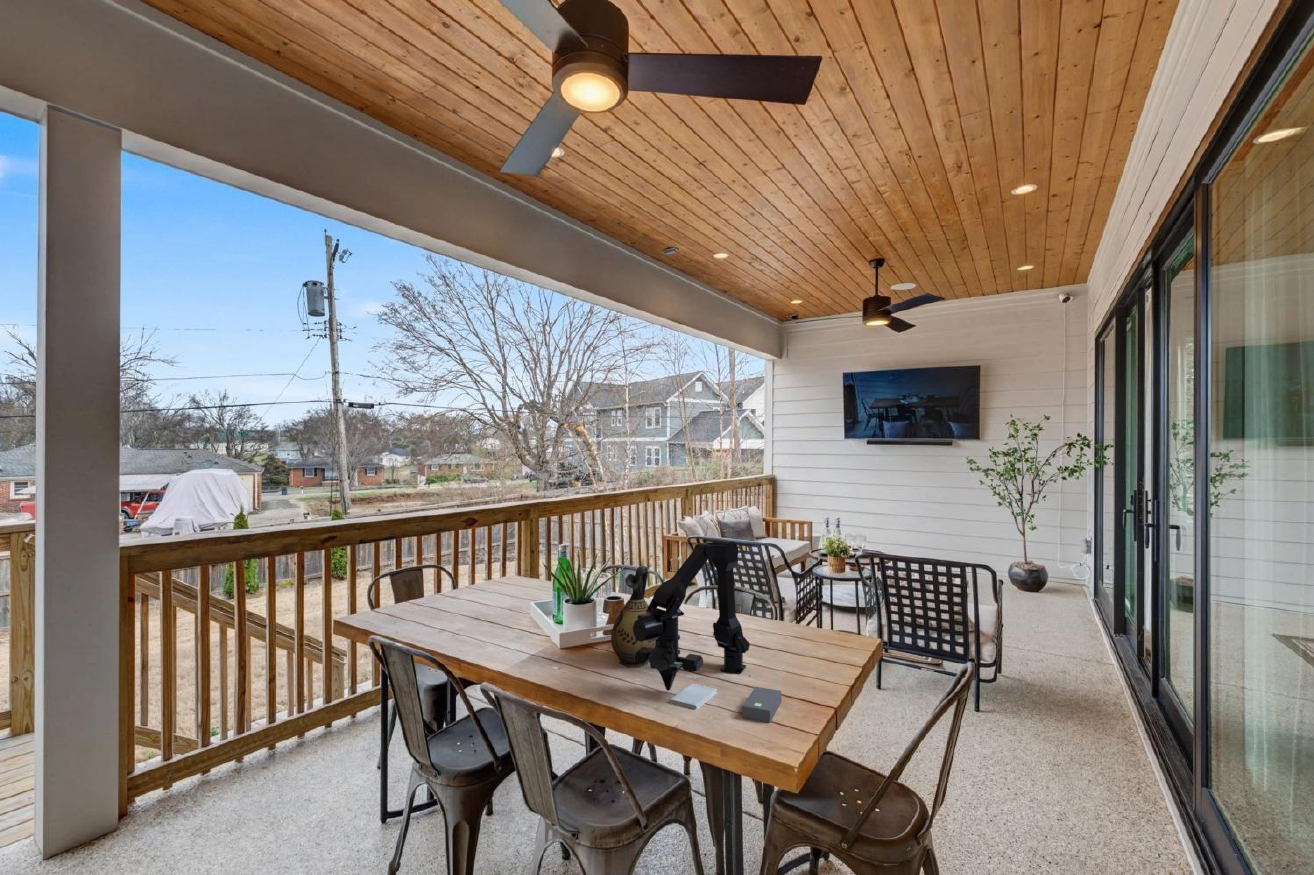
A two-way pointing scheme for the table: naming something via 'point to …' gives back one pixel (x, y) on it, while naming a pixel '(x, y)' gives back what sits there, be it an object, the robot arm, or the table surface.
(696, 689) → the hard drive
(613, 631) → the ceramic jug
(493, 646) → the table surface
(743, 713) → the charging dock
